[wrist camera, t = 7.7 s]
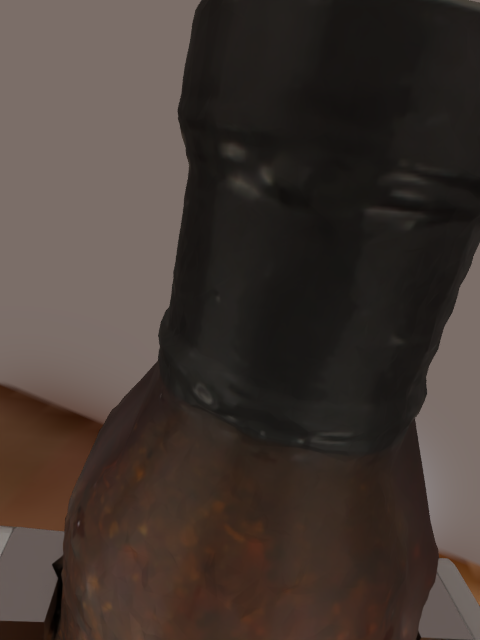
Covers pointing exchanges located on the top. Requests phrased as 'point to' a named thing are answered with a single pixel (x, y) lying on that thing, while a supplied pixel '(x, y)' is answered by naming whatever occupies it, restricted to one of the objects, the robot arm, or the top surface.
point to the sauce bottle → (291, 335)
